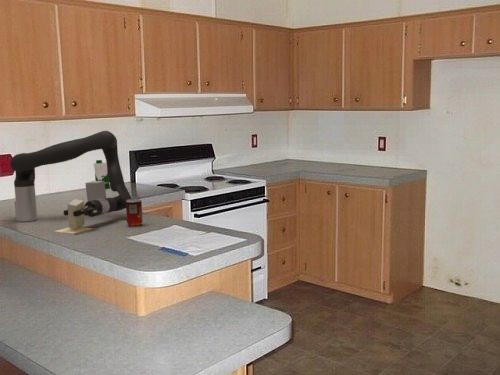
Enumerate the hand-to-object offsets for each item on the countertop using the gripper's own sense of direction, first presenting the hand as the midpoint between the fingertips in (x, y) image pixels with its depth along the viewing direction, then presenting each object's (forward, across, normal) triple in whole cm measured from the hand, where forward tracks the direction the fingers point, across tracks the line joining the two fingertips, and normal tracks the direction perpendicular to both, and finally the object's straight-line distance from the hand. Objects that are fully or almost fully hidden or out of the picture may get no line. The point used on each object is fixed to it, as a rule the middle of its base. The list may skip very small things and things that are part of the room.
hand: (69, 213), depth 230 cm
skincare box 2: (-47, -30, +8) cm, 56 cm away
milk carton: (-112, -88, +8) cm, 143 cm away
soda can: (-23, +17, +8) cm, 30 cm away
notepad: (-4, -2, +8) cm, 10 cm away
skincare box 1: (-6, -2, +7) cm, 10 cm away
